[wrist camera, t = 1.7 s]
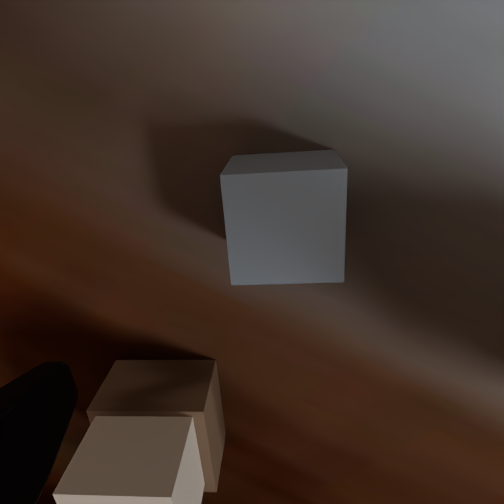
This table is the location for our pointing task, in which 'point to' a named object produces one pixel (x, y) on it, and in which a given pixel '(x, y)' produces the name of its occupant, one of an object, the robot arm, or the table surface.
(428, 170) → the table surface
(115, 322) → the table surface
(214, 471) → the grey-brown square block
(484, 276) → the table surface
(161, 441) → the cream block
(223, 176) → the slate block
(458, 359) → the table surface
